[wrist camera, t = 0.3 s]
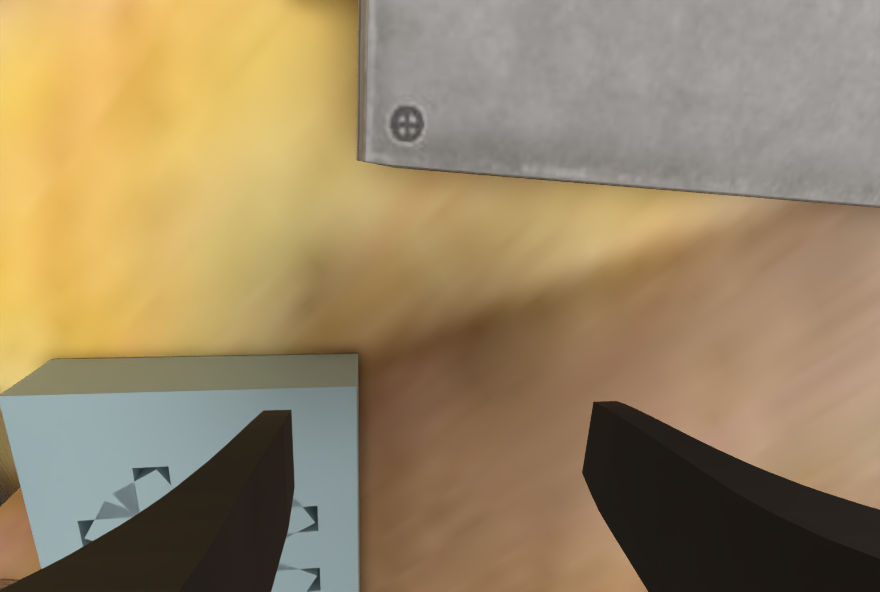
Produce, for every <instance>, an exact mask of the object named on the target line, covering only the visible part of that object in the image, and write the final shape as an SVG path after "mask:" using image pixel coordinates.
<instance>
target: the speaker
mask: <svg viewBox="0 0 880 592" xmlns="http://www.w3.org/2000/svg"><path fill="white" fill-rule="evenodd" d="M357 160H358V161H363V162H368V163H374V164H379V165H384V166H389V167H394V168H406V169H418V170H430V171H442V172H454V173H466V174H478V175H491V176H503V177H515V178H527V179H539V180H551V181H563V182H575V183H587V184H599V185H611V186H624V187H636V188H648V189H660V190H672V191H684V192H696V193H708V194H720V195H732V196H745V197H757V198H769V199H781V200H793V201H805V202H817V203H829V204H841V205H853V206H866V207H878V208H880V0H358V74H357Z"/></svg>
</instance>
